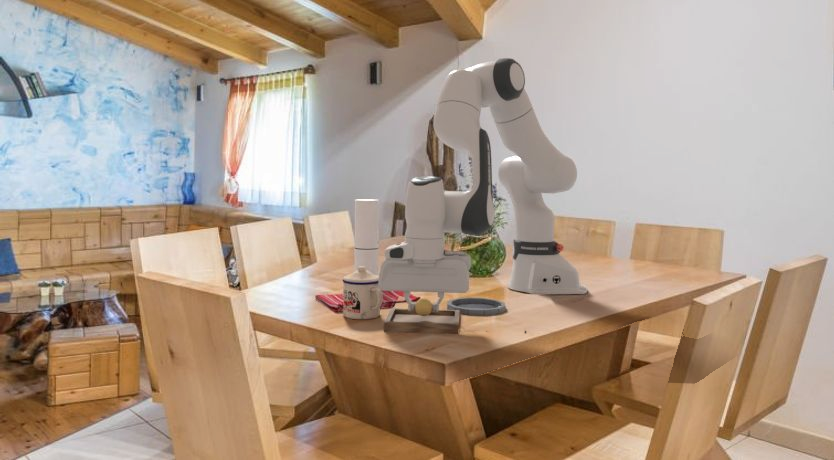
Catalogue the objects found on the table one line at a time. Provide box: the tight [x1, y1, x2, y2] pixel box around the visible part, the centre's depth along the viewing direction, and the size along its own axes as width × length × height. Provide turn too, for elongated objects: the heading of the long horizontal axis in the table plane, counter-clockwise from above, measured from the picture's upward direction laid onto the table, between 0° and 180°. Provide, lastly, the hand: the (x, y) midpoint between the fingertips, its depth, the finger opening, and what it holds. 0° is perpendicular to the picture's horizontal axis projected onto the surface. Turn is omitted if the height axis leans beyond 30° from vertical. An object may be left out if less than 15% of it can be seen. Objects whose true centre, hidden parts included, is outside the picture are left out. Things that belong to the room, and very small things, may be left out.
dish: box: [446, 296, 507, 316], centre depth 160 cm, size 14×14×2 cm
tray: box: [383, 307, 460, 335], centre depth 147 cm, size 16×14×2 cm
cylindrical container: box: [353, 198, 380, 276], centre depth 193 cm, size 7×7×25 cm
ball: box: [415, 297, 433, 316], centre depth 146 cm, size 4×4×4 cm
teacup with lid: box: [342, 266, 383, 320], centre depth 153 cm, size 12×9×12 cm
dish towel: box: [315, 289, 421, 313], centre depth 170 cm, size 17×24×3 cm
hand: (423, 311), depth 146 cm, fingers closed on ball, 4 cm apart
